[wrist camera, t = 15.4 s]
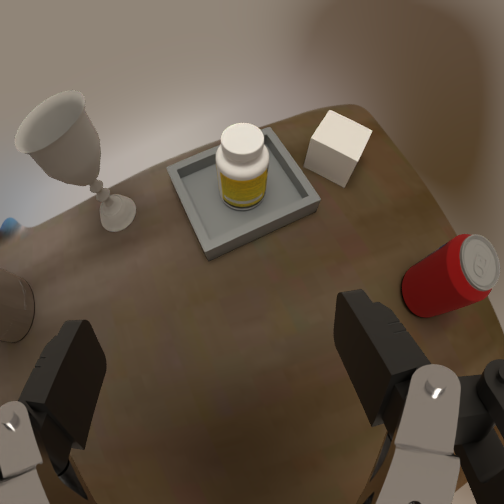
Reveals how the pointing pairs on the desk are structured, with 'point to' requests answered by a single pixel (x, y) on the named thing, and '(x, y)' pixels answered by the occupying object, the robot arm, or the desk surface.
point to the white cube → (336, 148)
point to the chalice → (72, 152)
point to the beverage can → (452, 276)
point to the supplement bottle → (242, 166)
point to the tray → (241, 221)
